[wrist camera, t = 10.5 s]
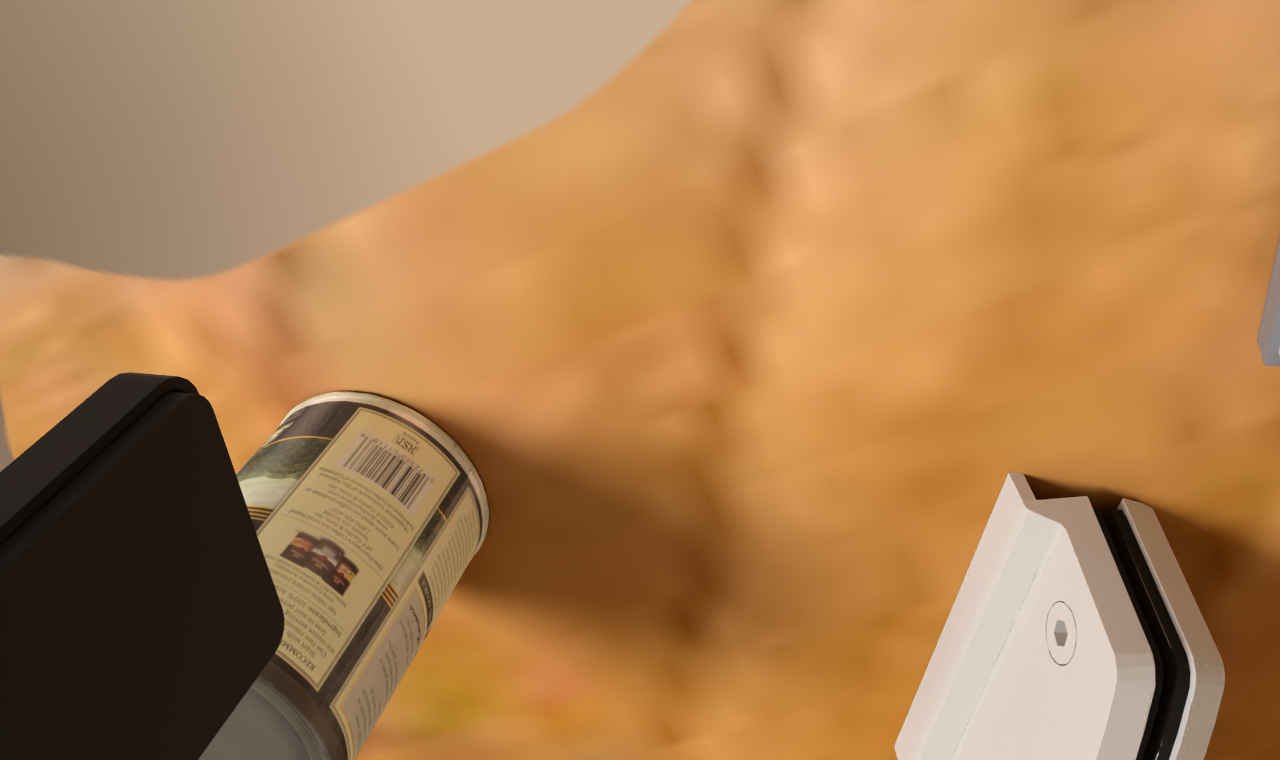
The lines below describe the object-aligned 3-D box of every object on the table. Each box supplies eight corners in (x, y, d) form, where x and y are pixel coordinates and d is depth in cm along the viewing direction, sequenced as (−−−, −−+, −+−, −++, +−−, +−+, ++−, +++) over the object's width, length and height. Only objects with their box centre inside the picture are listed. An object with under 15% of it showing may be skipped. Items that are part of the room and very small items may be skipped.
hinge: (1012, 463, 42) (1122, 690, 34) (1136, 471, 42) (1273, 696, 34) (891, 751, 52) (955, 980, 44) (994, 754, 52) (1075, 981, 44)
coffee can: (285, 542, 55) (92, 785, 44) (266, 364, 49) (37, 593, 38) (489, 601, 54) (342, 870, 42) (496, 424, 48) (326, 682, 36)
